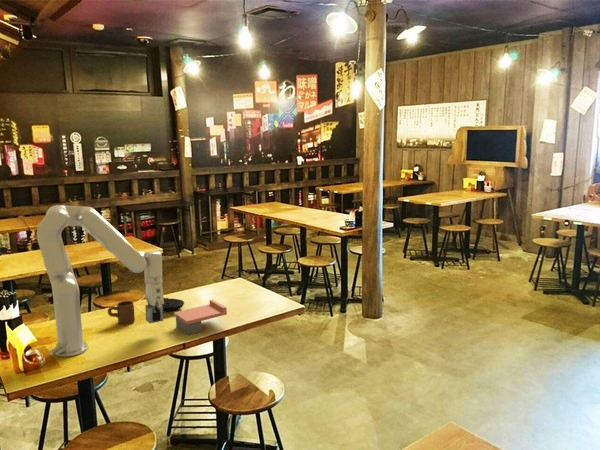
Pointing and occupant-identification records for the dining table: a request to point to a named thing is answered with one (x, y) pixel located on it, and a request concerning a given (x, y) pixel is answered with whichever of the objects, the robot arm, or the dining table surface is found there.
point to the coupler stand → (198, 316)
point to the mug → (123, 312)
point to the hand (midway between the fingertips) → (154, 318)
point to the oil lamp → (172, 305)
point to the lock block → (150, 313)
